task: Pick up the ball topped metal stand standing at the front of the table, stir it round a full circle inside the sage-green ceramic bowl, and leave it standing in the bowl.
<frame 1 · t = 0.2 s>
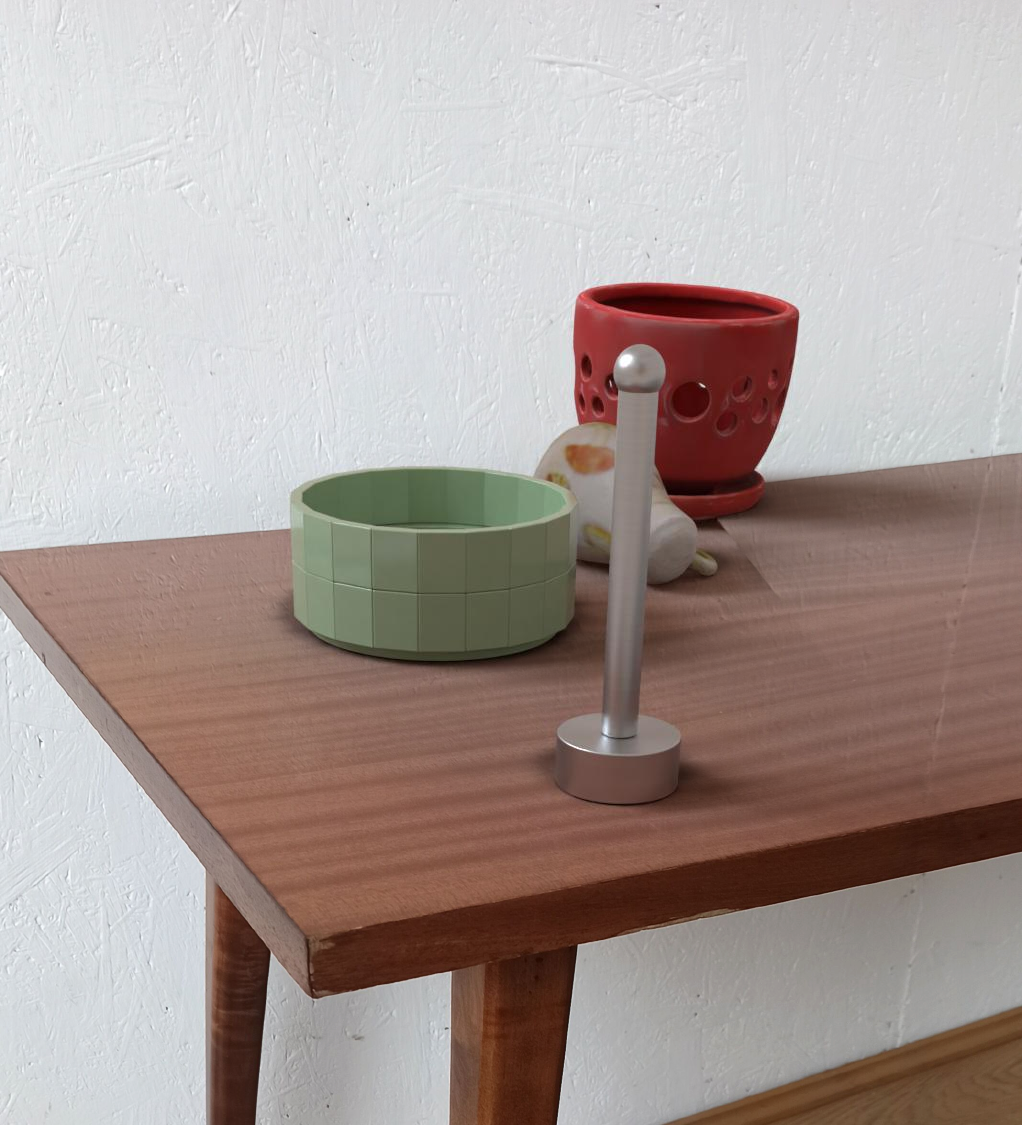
ball topped metal stand: (616, 781, 69), on the table
bowl: (434, 622, 87), on the table
flower pot: (672, 511, 109), on the table
mug: (625, 572, 96), on the table
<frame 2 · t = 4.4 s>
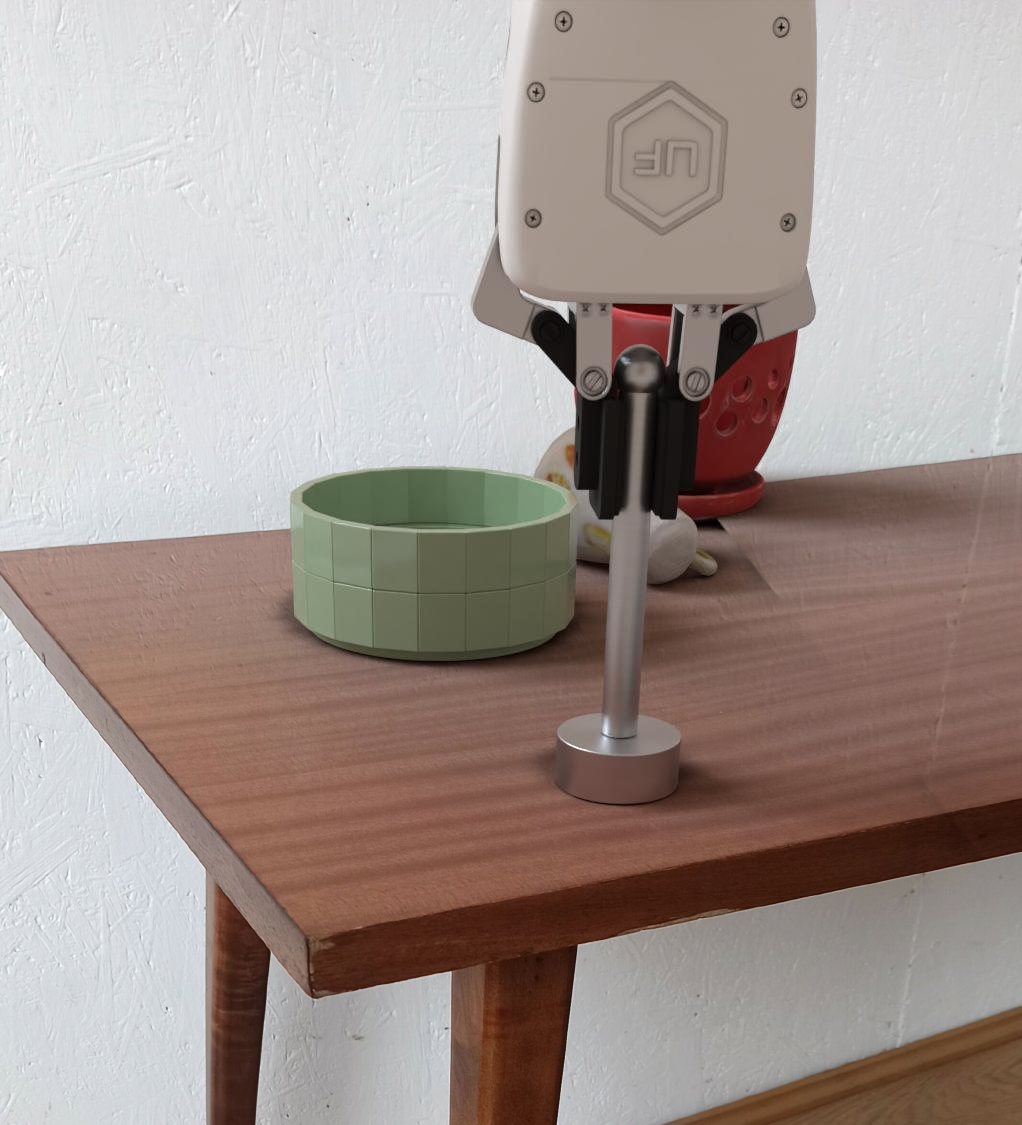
hand: (631, 507, 64), 10 cm above the table, tool pointing down, fingers closed on ball topped metal stand
ball topped metal stand: (616, 781, 69), on the table, touching gripper
everything else where it was.
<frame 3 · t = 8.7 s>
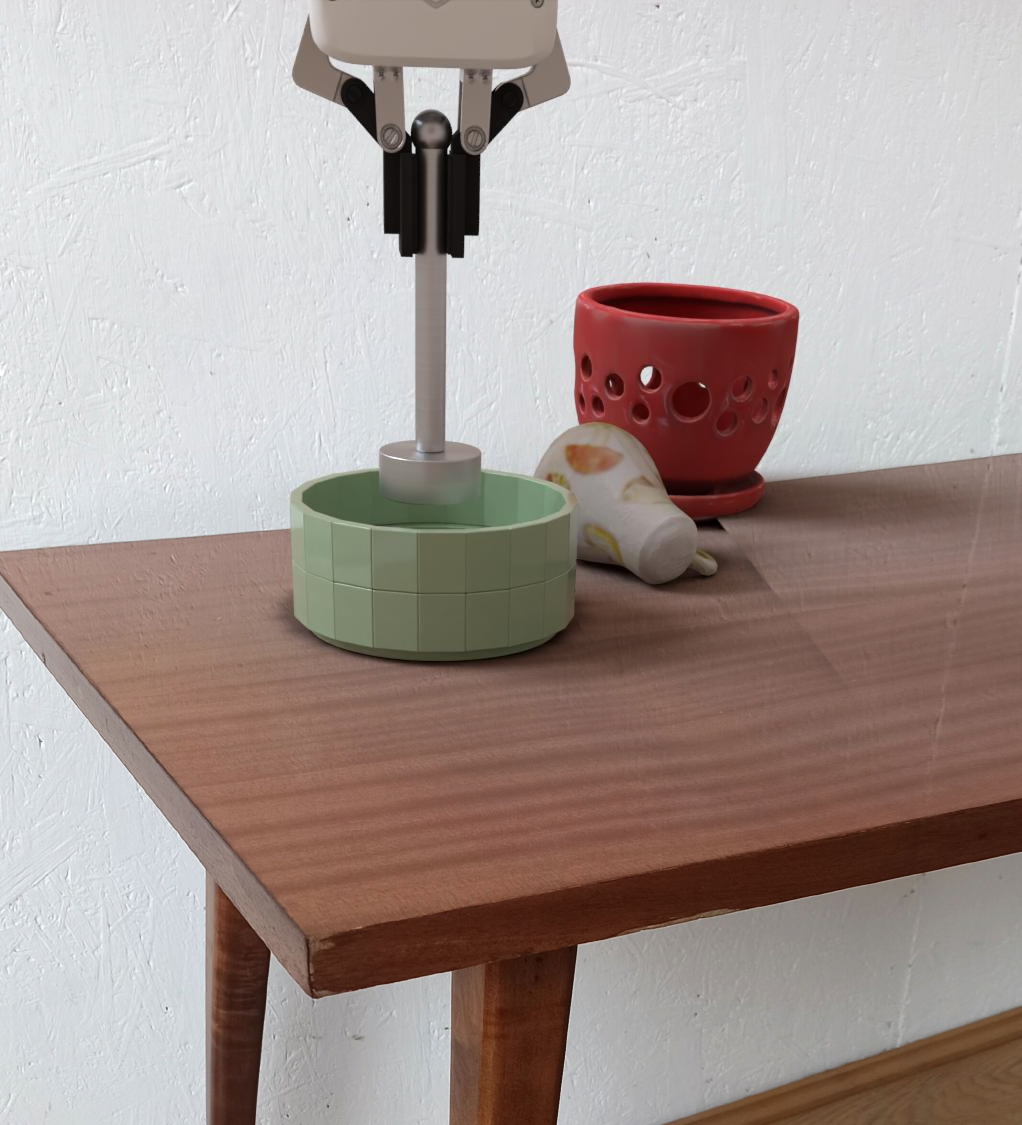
hand: (431, 251, 78), 17 cm above the table, tool pointing down, fingers closed on ball topped metal stand
ball topped metal stand: (430, 494, 83), point 6 cm above the table, touching gripper
everything else where it was.
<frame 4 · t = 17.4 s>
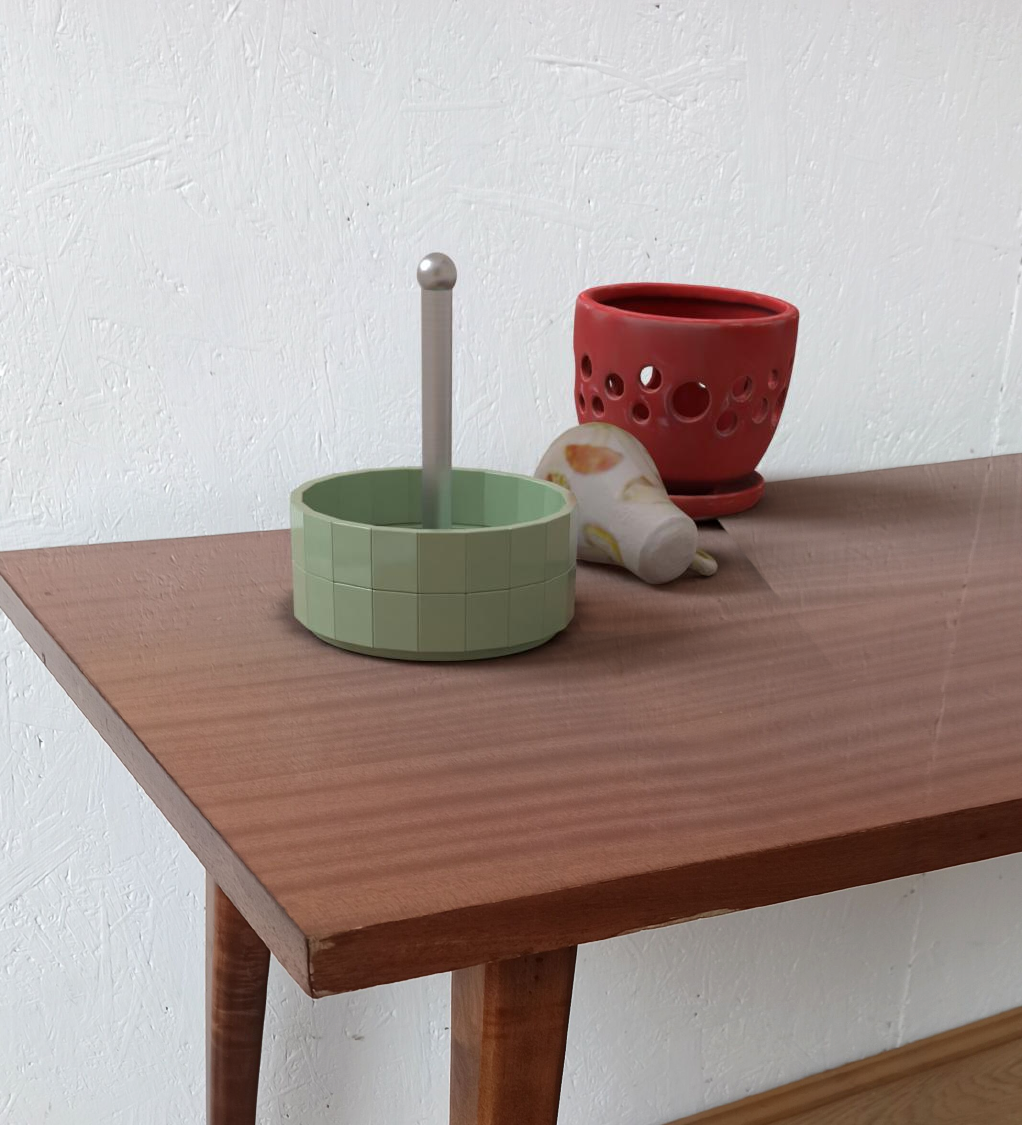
ball topped metal stand: (436, 610, 86), point 1 cm above the table, touching bowl
everything else where it was.
at the end: ball topped metal stand inside the target area in the bowl (0.1 cm from its centre), point 0.6 cm above the bowl's base; the gripper is holding nothing; ball topped metal stand tilted 0° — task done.
